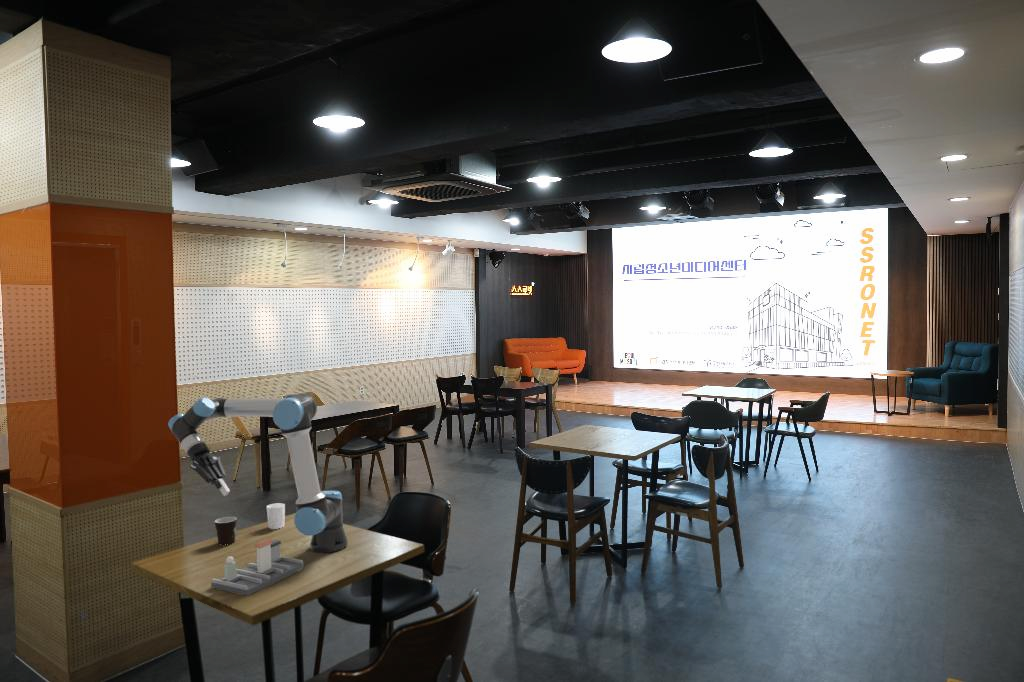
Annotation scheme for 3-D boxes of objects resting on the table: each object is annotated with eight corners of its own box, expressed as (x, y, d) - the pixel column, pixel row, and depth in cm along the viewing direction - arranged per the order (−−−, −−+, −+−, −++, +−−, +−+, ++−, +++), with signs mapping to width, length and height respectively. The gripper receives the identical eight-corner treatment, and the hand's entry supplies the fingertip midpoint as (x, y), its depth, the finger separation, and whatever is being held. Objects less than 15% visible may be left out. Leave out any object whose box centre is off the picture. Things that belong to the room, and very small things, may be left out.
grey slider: (264, 562, 262) (263, 544, 262) (275, 557, 267) (274, 539, 267) (271, 564, 260) (271, 545, 260) (282, 559, 265) (282, 540, 265)
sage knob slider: (221, 581, 245) (220, 558, 244) (232, 576, 249) (231, 553, 249) (229, 583, 243) (228, 559, 243) (240, 578, 247) (239, 555, 247)
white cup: (271, 524, 318) (270, 503, 318) (288, 524, 318) (287, 502, 317) (264, 530, 310) (263, 508, 310) (282, 529, 310) (281, 507, 309)
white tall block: (254, 574, 251) (253, 543, 250) (266, 569, 256) (265, 538, 255) (262, 576, 249) (261, 544, 248) (274, 570, 254) (273, 539, 253)
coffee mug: (229, 546, 289) (228, 523, 288) (211, 546, 290) (210, 522, 290) (245, 537, 300) (244, 515, 300) (228, 537, 302) (227, 514, 301)
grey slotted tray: (211, 587, 246) (210, 578, 246) (269, 561, 270) (269, 553, 270) (247, 595, 238) (247, 586, 237) (304, 568, 262) (303, 560, 261)
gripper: (205, 450, 281) (236, 495, 274) (176, 457, 269) (208, 504, 262) (213, 438, 278) (245, 483, 271) (185, 444, 266) (217, 491, 259)
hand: (227, 493), depth 267 cm, fingers closed
